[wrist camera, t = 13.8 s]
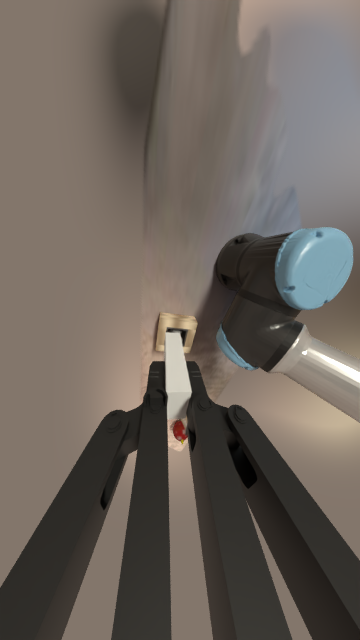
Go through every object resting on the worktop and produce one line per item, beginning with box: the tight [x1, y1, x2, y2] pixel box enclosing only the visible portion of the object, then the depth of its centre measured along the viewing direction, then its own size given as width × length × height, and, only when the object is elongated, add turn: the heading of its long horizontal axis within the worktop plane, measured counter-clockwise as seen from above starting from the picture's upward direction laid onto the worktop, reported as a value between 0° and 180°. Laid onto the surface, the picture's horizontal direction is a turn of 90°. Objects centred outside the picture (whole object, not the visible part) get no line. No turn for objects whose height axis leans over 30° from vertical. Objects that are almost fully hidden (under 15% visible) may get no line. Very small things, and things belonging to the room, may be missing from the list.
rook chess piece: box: [169, 329, 183, 341], centre depth 43 cm, size 4×4×8 cm
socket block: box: [156, 313, 198, 353], centre depth 44 cm, size 12×12×5 cm
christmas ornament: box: [173, 420, 188, 444], centre depth 69 cm, size 9×9×10 cm
